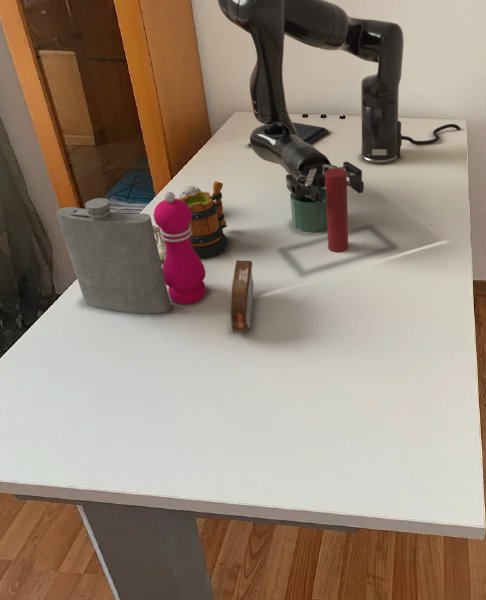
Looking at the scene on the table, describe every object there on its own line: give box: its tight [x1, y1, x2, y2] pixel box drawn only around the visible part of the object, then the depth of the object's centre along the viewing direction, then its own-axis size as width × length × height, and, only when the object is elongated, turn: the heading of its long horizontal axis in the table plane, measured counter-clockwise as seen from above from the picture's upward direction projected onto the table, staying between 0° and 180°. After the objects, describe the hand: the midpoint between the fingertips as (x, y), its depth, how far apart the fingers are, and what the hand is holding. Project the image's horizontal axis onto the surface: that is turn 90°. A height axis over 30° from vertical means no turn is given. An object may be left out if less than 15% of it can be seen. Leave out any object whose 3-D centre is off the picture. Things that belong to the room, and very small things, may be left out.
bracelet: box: [152, 224, 166, 262], centre depth 118 cm, size 4×8×8 cm, turn 151°
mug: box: [180, 180, 229, 260], centre depth 124 cm, size 13×10×12 cm
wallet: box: [248, 121, 330, 148], centre depth 175 cm, size 20×2×15 cm
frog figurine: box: [176, 185, 202, 199], centre depth 135 cm, size 6×7×7 cm
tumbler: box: [289, 187, 327, 233], centre depth 132 cm, size 9×9×7 cm
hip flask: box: [55, 197, 172, 314], centre depth 103 cm, size 16×4×20 cm, turn 79°
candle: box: [325, 168, 349, 253], centre depth 120 cm, size 4×4×16 cm
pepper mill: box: [153, 191, 207, 305], centre depth 106 cm, size 7×7×20 cm
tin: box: [230, 259, 254, 333], centre depth 104 cm, size 15×3×8 cm, turn 5°
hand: (341, 193), depth 116 cm, fingers open, 8 cm apart
